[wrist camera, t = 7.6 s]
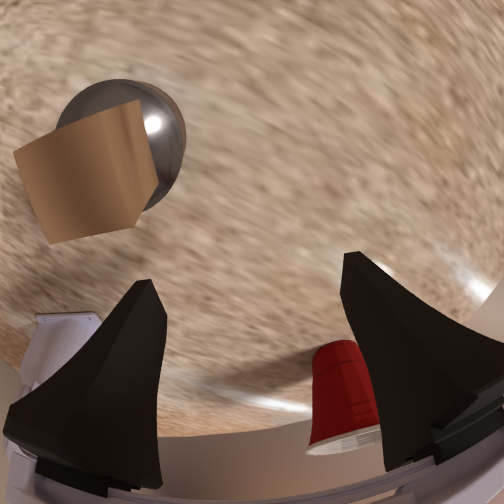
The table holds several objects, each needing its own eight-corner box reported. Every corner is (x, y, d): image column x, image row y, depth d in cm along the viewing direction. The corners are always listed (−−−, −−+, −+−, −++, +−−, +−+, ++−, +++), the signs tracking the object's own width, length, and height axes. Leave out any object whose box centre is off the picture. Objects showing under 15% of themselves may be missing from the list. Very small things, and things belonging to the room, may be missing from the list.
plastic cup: (273, 372, 32) (284, 464, 22) (325, 317, 27) (358, 429, 17) (340, 380, 35) (359, 456, 26) (393, 334, 30) (428, 419, 20)
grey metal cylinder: (94, 206, 19) (78, 226, 16) (64, 101, 14) (39, 109, 11) (200, 184, 19) (195, 203, 16) (178, 63, 14) (167, 60, 11)
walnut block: (87, 199, 15) (49, 244, 11) (64, 126, 12) (12, 152, 8) (159, 182, 15) (133, 227, 11) (139, 99, 12) (99, 112, 8)
